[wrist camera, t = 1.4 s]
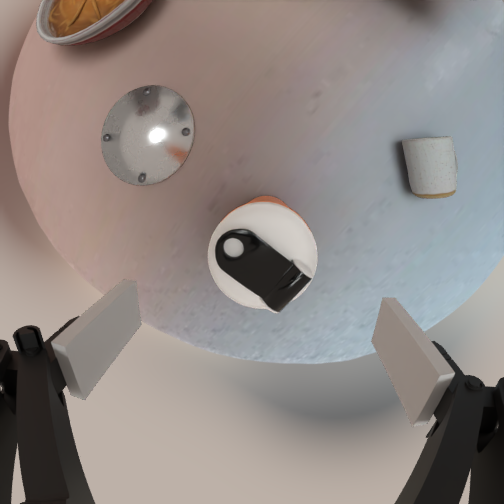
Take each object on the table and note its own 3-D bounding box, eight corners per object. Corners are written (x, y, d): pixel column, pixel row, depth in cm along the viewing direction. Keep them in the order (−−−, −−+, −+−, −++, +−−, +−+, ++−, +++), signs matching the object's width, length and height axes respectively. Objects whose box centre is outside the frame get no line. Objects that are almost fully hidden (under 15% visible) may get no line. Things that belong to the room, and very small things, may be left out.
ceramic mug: (403, 196, 37) (429, 203, 30) (392, 141, 35) (418, 136, 27) (455, 185, 36) (485, 190, 28) (446, 135, 34) (476, 131, 26)
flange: (107, 93, 35) (104, 92, 34) (198, 82, 34) (196, 81, 34) (102, 185, 39) (99, 186, 39) (192, 185, 39) (190, 185, 38)
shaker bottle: (254, 176, 38) (238, 183, 19) (311, 210, 39) (348, 251, 19) (222, 231, 40) (179, 288, 21) (276, 263, 41) (279, 343, 22)
